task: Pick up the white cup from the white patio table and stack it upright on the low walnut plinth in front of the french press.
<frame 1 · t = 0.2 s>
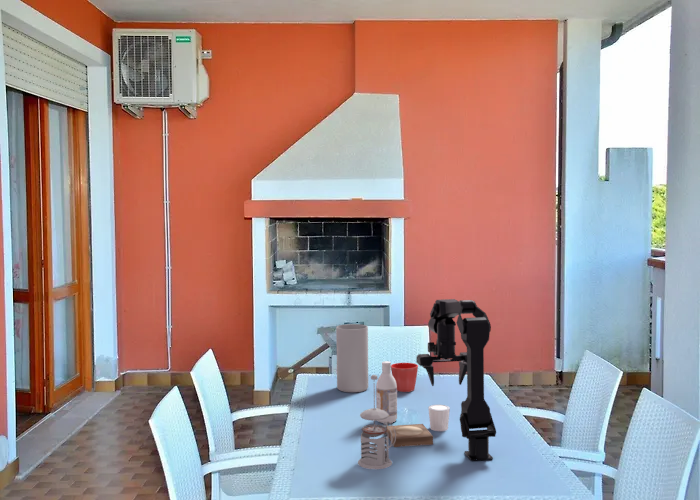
hand: (446, 385, 216), 14 cm above the table, tool pointing down, fingers open, 9 cm apart
flower pot: (404, 390, 262), on the table
cylinder vase: (352, 389, 264), on the table
bath foam: (386, 421, 223), on the table
white cup: (439, 429, 214), on the table
walnut plinth: (409, 439, 205), on the table
french press: (377, 464, 185), on the table
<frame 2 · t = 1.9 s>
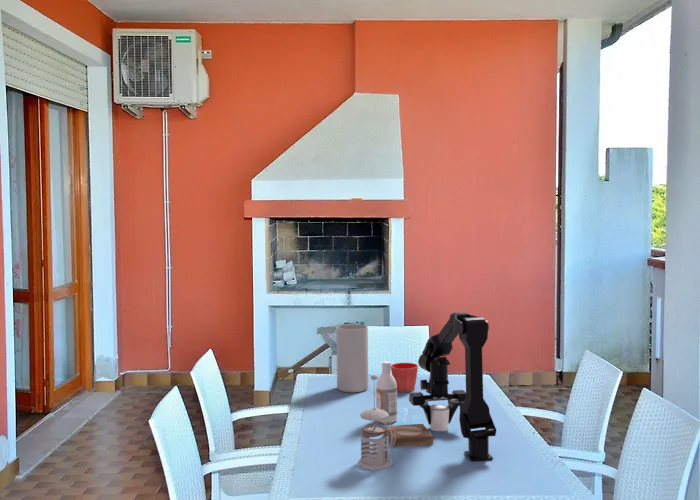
hand: (439, 423, 214), 2 cm above the table, tool pointing down, fingers closed on white cup, 6 cm apart
white cup: (439, 428, 214), on the table, touching gripper
everything else where it was.
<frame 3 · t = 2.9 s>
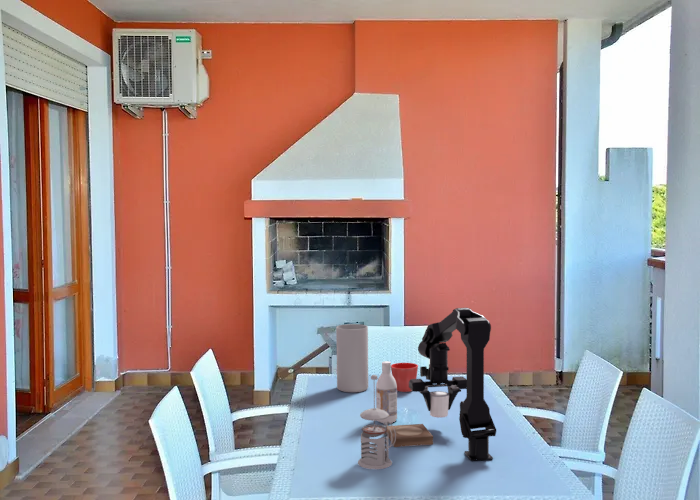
hand: (438, 410, 214), 6 cm above the table, tool pointing down, fingers closed on white cup, 6 cm apart
white cup: (438, 415, 214), point 4 cm above the table, touching gripper
everything else where it was.
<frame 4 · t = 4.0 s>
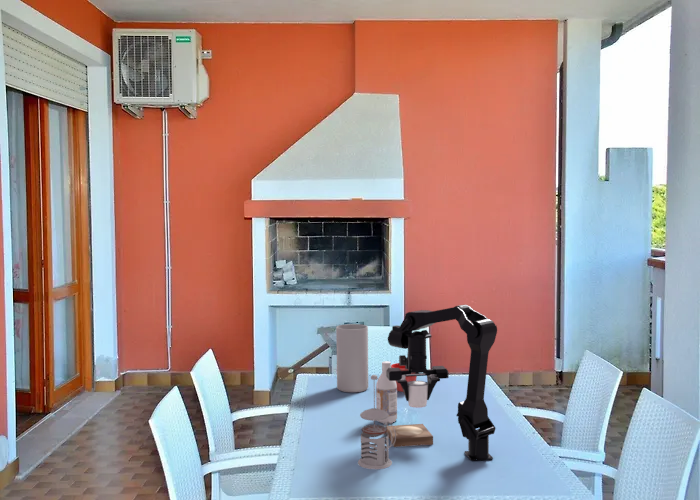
hand: (417, 400, 207), 11 cm above the table, tool pointing down, fingers closed on white cup, 6 cm apart
white cup: (417, 405, 207), point 10 cm above the table, touching gripper
everything else where it was.
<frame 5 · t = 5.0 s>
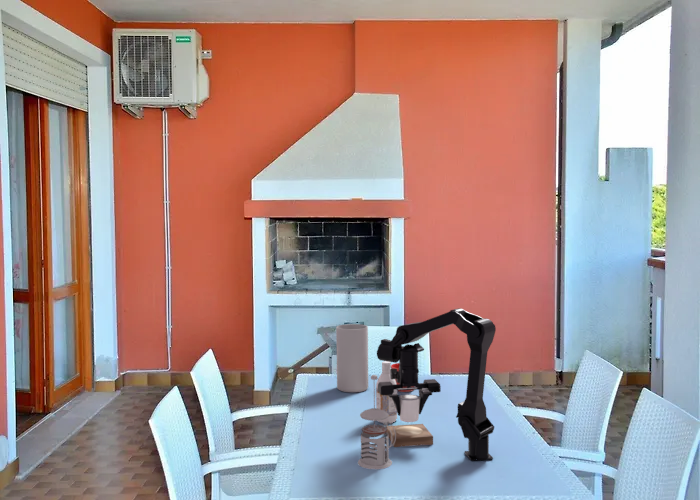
hand: (409, 414, 204), 8 cm above the table, tool pointing down, fingers closed on white cup, 6 cm apart
white cup: (409, 419, 204), point 6 cm above the table, touching gripper
everything else where it was.
when the fingers open (5 cm above the table, at t = 5.9 s): white cup stays where it is, resting on walnut plinth.
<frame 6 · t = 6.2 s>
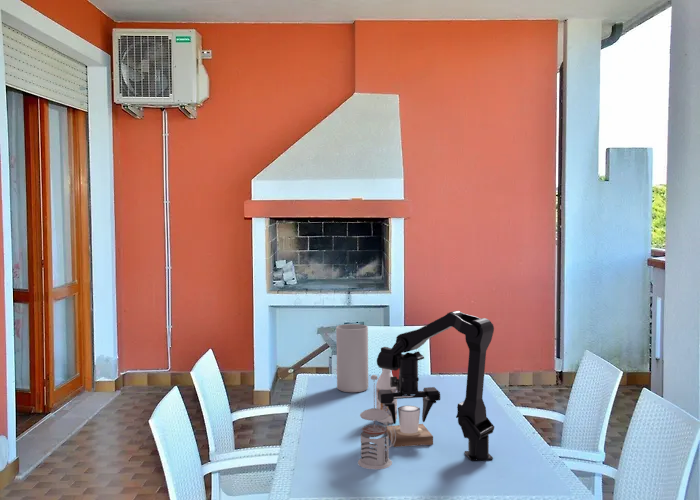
hand: (409, 422, 204), 5 cm above the table, tool pointing down, fingers open, 9 cm apart
white cup: (409, 431, 204), point 2 cm above the table, touching walnut plinth
everything else where it was.
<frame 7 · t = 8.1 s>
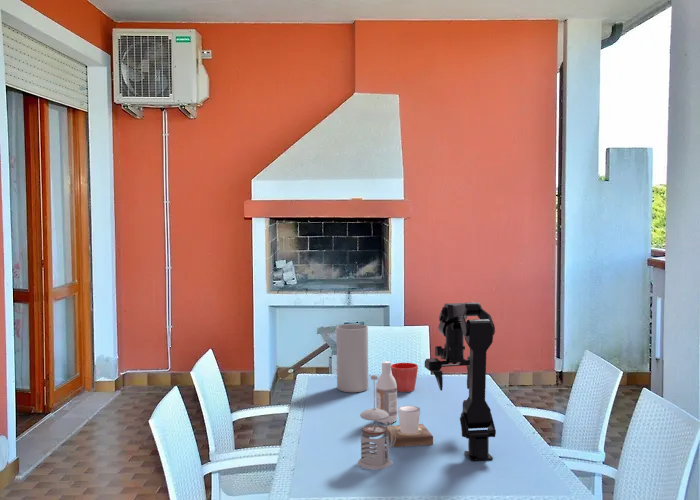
hand: (454, 389, 214), 13 cm above the table, tool pointing down, fingers open, 9 cm apart
nothing on the table moved.
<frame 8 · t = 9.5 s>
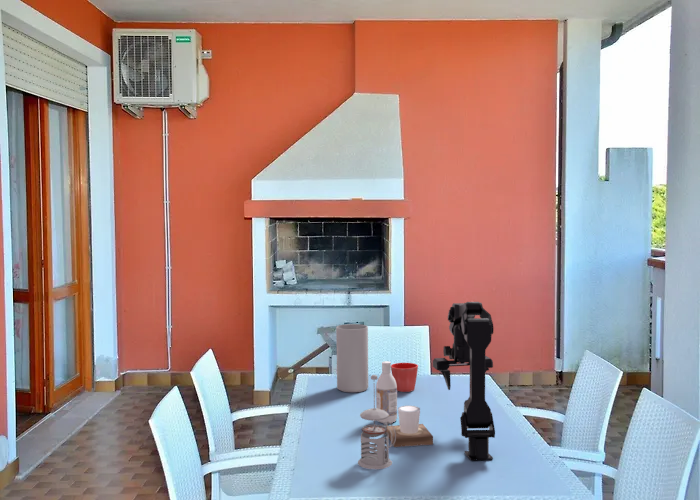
hand: (462, 389, 215), 12 cm above the table, tool pointing down, fingers open, 9 cm apart
nothing on the table moved.
at the end: white cup 0.1 cm from the walnut plinth (horizontally); white cup inside the target area on the walnut plinth (0.0 cm from its centre), point 2.5 cm above the walnut plinth's base; white cup tilted 0° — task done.
